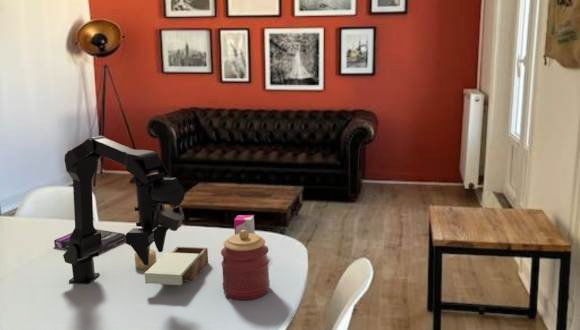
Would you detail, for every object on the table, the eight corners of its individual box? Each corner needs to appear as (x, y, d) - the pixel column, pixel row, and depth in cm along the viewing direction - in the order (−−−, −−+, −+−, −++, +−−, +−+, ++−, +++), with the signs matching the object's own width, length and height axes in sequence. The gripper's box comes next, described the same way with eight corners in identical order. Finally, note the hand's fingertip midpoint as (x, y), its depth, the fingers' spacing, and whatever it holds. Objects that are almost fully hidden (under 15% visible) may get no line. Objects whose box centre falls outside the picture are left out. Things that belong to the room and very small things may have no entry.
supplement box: (255, 247, 185) (254, 214, 182) (252, 253, 179) (251, 220, 176) (238, 246, 185) (237, 214, 183) (235, 253, 179) (233, 220, 177)
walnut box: (193, 281, 159) (191, 265, 158) (160, 279, 160) (159, 263, 159) (208, 262, 172) (207, 247, 171) (178, 261, 174) (176, 246, 173)
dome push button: (152, 270, 168) (151, 257, 167) (132, 269, 169) (131, 256, 168) (159, 261, 174) (158, 249, 173) (140, 260, 175) (139, 248, 174)
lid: (181, 285, 149) (180, 274, 148) (145, 283, 151) (144, 273, 150) (200, 263, 164) (199, 253, 163) (167, 261, 166) (166, 252, 165)
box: (54, 249, 190) (97, 256, 182) (53, 239, 189) (96, 246, 181) (85, 236, 202) (126, 241, 194) (83, 227, 202) (125, 232, 193)
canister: (245, 277, 161) (243, 219, 157) (279, 288, 153) (277, 228, 149) (213, 292, 151) (209, 231, 147) (247, 305, 143) (244, 241, 139)
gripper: (164, 211, 130) (169, 273, 134) (190, 191, 148) (194, 246, 152) (120, 211, 132) (126, 272, 135) (151, 191, 150) (156, 245, 153)
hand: (153, 258), depth 144 cm, fingers open, 9 cm apart
